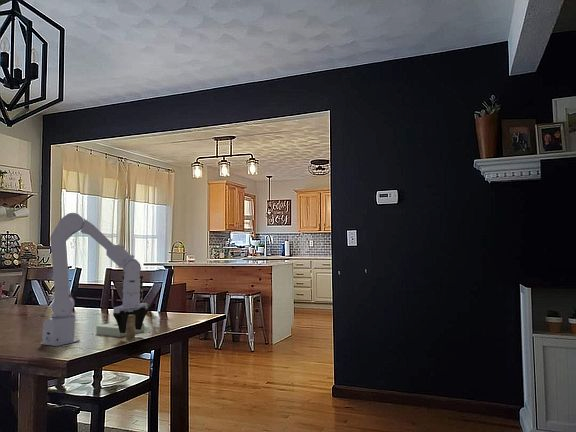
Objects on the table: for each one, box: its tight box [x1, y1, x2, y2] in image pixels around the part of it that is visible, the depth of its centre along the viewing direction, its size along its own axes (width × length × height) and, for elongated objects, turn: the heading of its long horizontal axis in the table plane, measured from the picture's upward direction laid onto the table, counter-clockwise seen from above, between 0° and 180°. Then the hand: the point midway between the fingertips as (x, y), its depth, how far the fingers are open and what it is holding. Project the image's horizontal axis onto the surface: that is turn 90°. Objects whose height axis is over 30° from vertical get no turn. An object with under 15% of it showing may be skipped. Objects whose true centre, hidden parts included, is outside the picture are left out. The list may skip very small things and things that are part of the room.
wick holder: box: [95, 321, 145, 338], centre depth 176 cm, size 12×12×3 cm
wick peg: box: [125, 315, 136, 340], centre depth 166 cm, size 3×3×8 cm
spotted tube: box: [121, 275, 144, 315], centre depth 198 cm, size 8×8×20 cm
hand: (130, 331), depth 166 cm, fingers open, 7 cm apart
